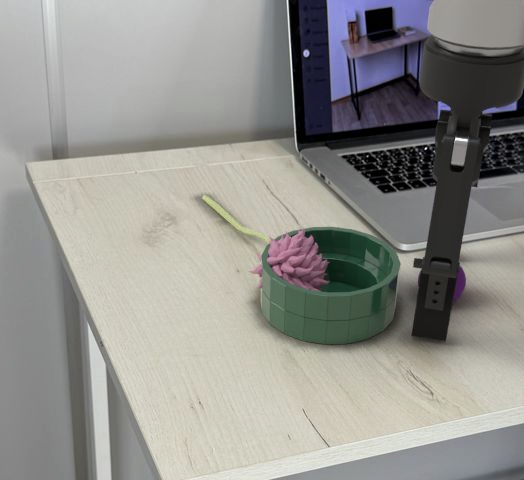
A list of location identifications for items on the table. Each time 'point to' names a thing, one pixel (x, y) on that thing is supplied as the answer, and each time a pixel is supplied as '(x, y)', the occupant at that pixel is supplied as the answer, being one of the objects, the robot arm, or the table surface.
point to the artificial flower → (287, 255)
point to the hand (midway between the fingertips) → (436, 292)
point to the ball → (459, 283)
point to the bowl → (336, 289)
